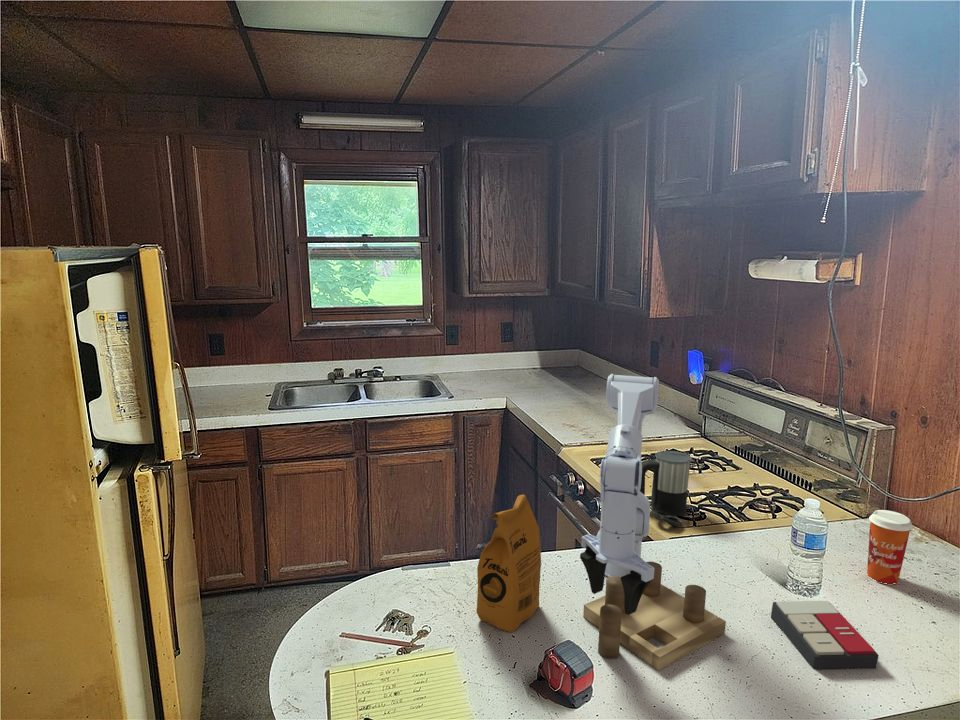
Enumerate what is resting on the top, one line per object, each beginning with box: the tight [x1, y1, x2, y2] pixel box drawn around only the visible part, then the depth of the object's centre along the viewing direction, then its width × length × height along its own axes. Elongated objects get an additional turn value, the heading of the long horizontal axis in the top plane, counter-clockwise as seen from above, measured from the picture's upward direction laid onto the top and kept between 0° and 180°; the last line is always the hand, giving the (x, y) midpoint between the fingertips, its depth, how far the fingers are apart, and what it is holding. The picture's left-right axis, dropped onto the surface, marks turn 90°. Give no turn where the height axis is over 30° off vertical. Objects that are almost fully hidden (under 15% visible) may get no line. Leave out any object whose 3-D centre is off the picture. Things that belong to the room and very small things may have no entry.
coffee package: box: [475, 494, 542, 633], centre depth 119 cm, size 10×12×22 cm
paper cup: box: [866, 509, 914, 584], centre depth 133 cm, size 8×8×14 cm
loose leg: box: [597, 605, 622, 660], centre depth 109 cm, size 4×4×8 cm
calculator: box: [770, 600, 879, 671], centre depth 113 cm, size 11×4×15 cm
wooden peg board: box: [582, 561, 727, 671], centre depth 117 cm, size 18×18×8 cm
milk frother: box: [640, 450, 692, 528], centre depth 162 cm, size 14×16×15 cm
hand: (613, 601), depth 108 cm, fingers open, 7 cm apart
